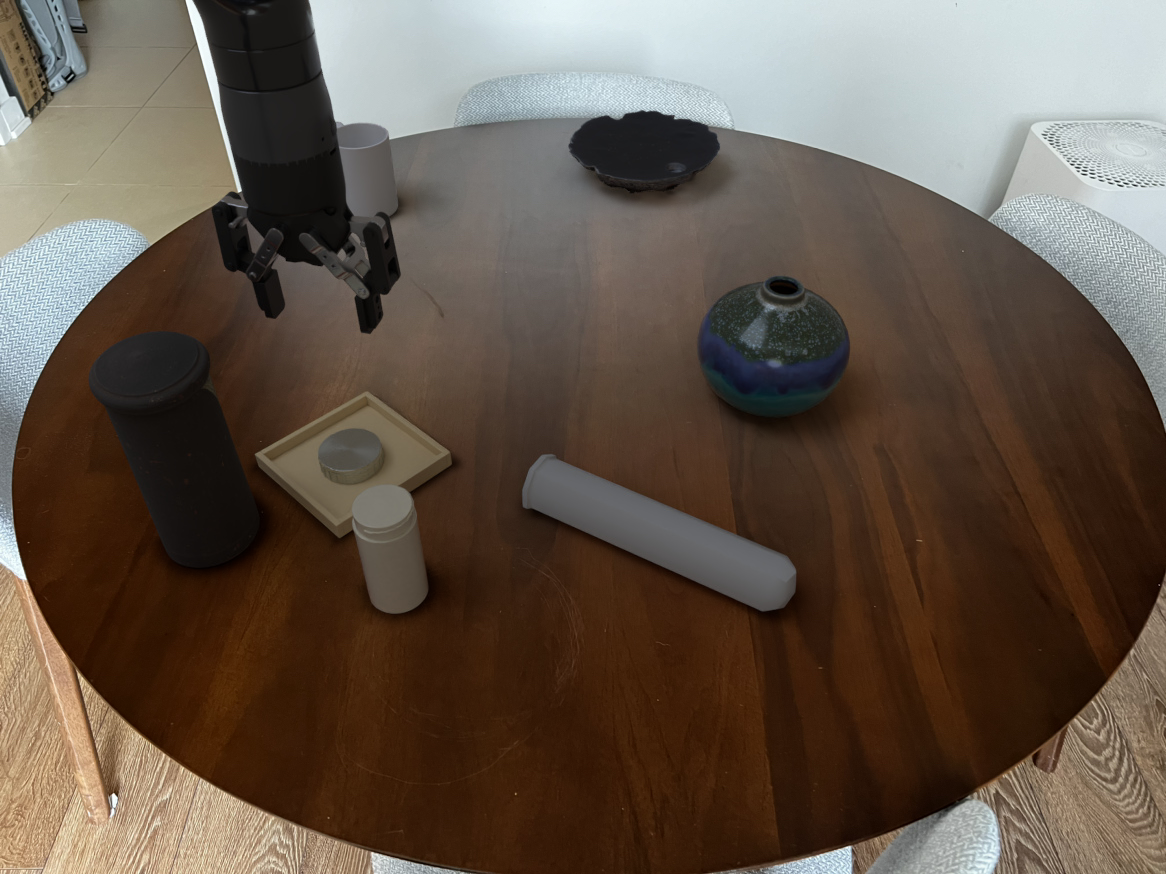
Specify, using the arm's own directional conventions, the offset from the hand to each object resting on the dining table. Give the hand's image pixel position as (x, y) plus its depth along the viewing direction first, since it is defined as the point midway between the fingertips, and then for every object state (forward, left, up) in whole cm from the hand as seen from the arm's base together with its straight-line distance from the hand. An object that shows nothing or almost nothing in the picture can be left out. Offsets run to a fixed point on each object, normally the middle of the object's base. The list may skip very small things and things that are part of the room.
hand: (323, 320), depth 77 cm
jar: (-6, -15, -17) cm, 24 cm away
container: (-14, +2, -17) cm, 22 cm away
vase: (+37, -22, -17) cm, 46 cm away
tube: (+12, -28, -17) cm, 35 cm away
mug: (+32, +42, -17) cm, 56 cm away
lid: (0, 0, -15) cm, 15 cm away
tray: (0, 0, -17) cm, 17 cm away
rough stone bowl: (+66, +20, -17) cm, 71 cm away
